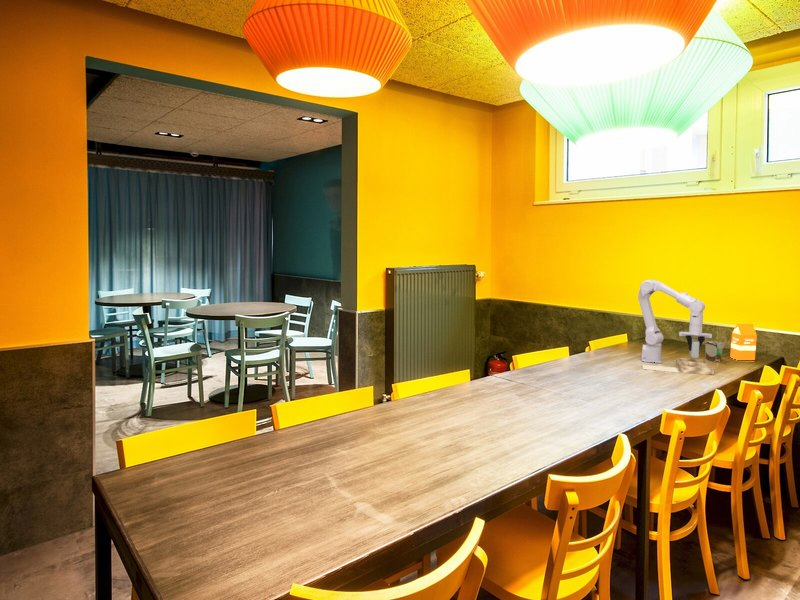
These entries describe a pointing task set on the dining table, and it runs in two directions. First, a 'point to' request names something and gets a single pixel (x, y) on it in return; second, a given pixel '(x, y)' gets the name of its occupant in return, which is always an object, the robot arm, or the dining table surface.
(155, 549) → the dining table surface
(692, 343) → the tall block
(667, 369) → the beige panel
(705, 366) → the wooden tray
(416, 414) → the dining table surface
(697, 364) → the offcut block top
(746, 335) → the orange juice
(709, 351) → the food container
